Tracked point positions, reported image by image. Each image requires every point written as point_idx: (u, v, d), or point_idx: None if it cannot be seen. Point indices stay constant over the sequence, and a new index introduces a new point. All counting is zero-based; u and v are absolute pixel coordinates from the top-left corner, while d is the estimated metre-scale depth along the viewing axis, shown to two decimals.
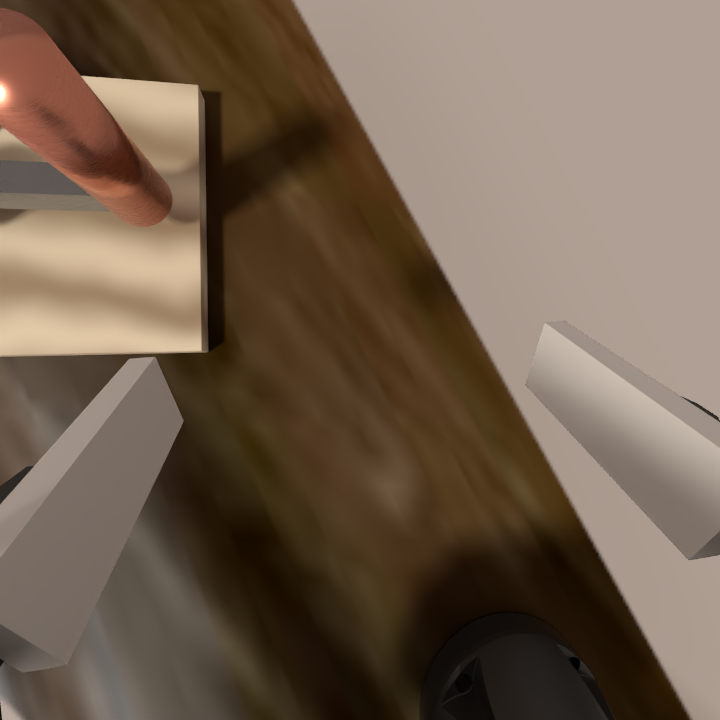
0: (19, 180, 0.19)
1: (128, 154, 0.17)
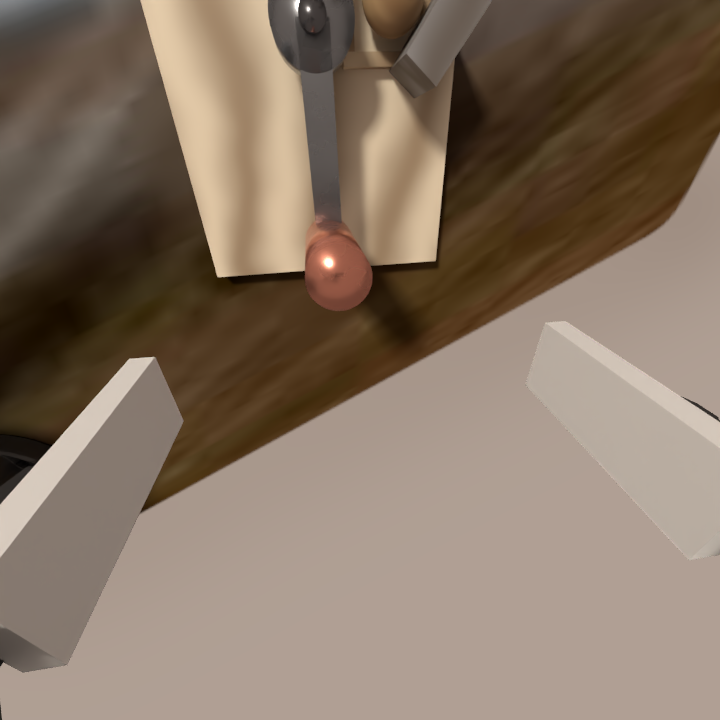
0: (320, 161, 0.22)
1: None
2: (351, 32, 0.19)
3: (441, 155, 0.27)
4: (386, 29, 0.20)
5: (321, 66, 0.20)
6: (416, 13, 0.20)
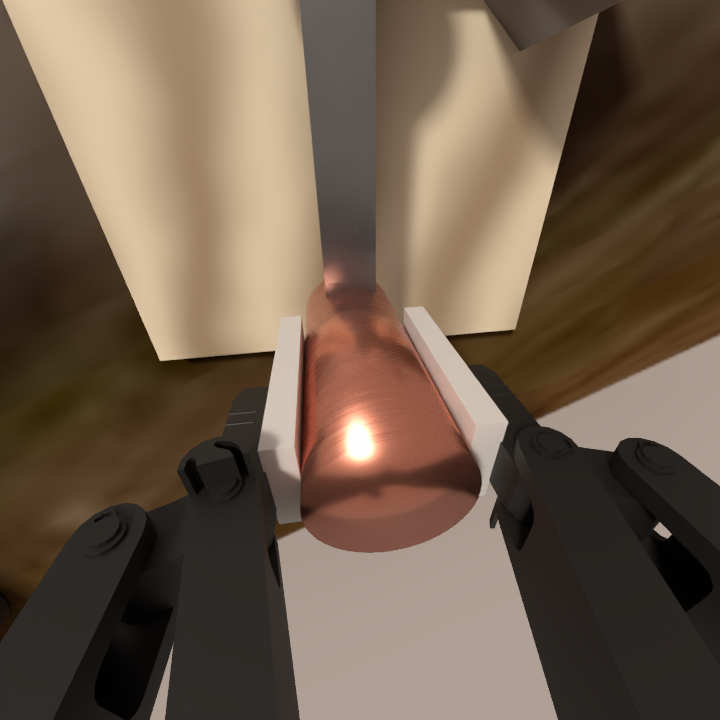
0: (339, 174, 0.10)
1: None
2: None
3: (552, 161, 0.15)
4: None
5: None
6: None
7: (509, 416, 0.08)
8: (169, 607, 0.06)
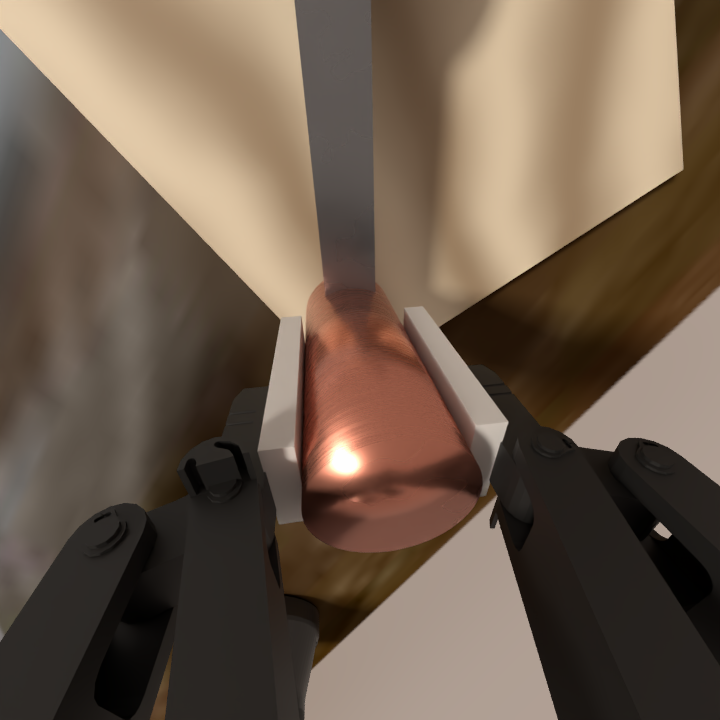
0: (337, 175, 0.10)
1: None
2: None
3: None
4: None
5: None
6: None
7: (509, 416, 0.08)
8: (169, 607, 0.06)
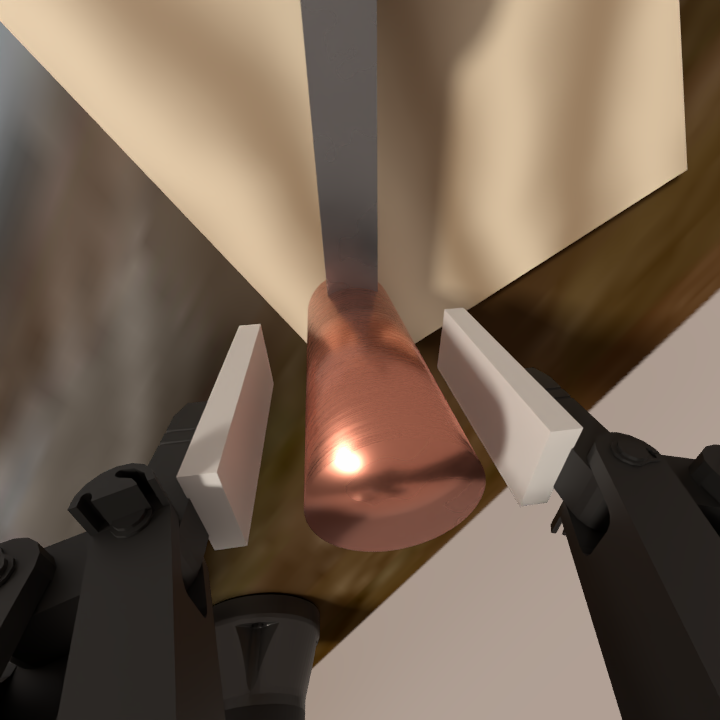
0: (340, 174, 0.10)
1: None
2: None
3: None
4: None
5: None
6: None
7: None
8: None
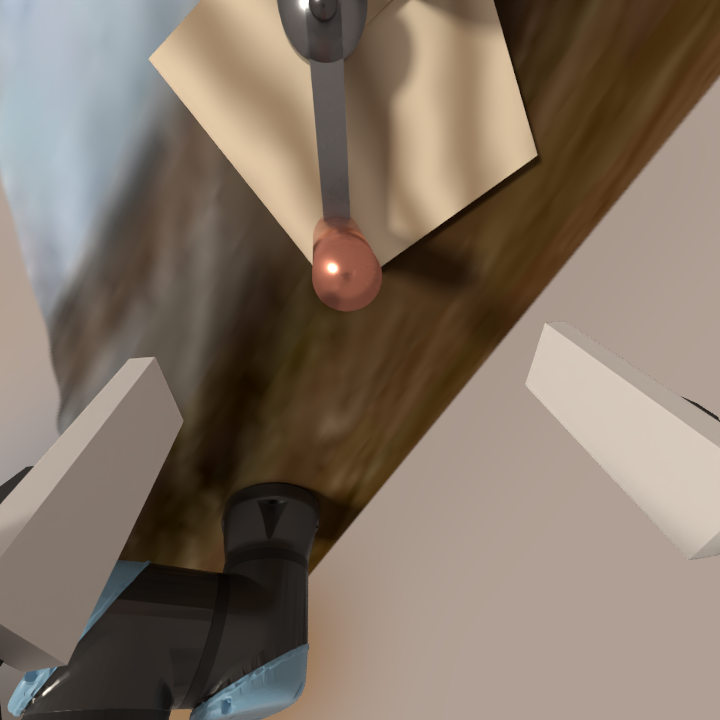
0: (329, 154, 0.22)
1: None
2: (363, 19, 0.18)
3: (497, 36, 0.23)
4: None
5: (332, 55, 0.19)
6: None
7: None
8: None
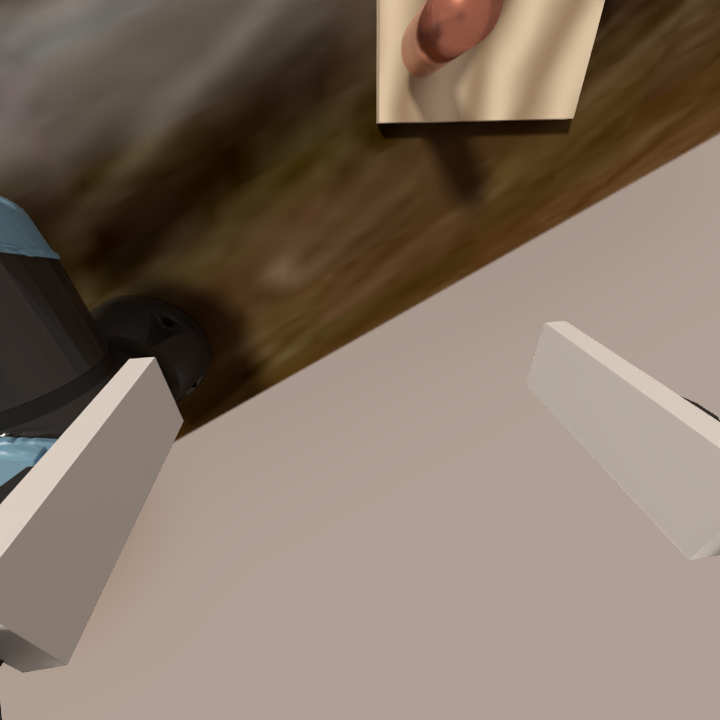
0: None
1: (424, 54, 0.24)
2: None
3: None
4: None
5: None
6: None
7: None
8: None
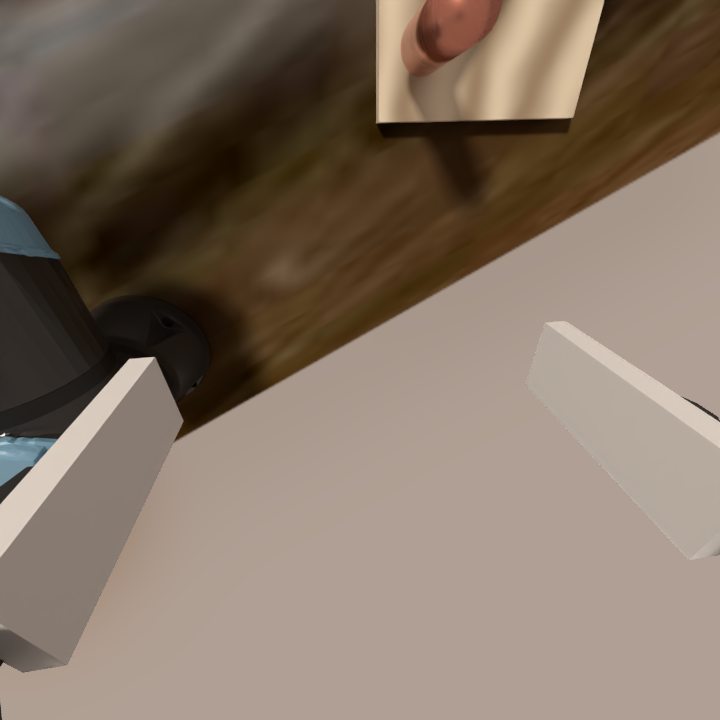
0: None
1: (424, 54, 0.24)
2: None
3: None
4: None
5: None
6: None
7: None
8: None
